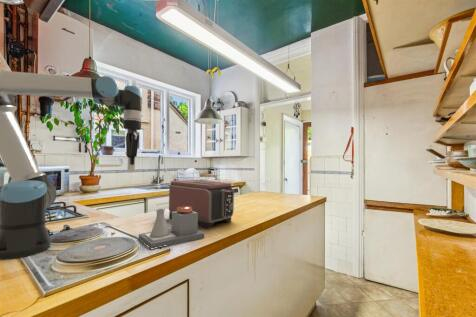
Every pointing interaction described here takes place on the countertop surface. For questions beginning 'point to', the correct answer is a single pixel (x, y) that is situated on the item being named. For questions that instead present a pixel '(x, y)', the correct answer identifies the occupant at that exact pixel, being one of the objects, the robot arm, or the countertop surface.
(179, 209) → the copper ovoid
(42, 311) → the countertop surface
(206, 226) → the toaster
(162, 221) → the flask
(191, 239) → the press
